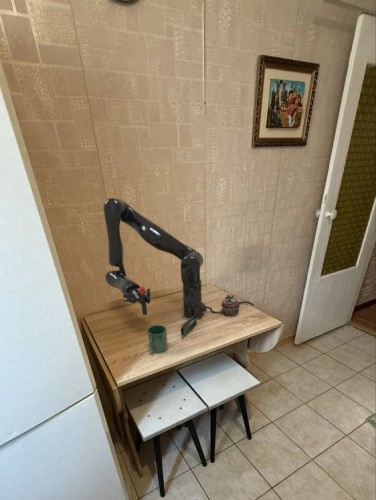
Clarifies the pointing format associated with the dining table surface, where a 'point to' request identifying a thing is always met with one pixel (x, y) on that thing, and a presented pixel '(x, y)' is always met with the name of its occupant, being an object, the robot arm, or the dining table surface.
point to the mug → (157, 338)
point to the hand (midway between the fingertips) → (146, 302)
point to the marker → (142, 294)
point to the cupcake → (230, 306)
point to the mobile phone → (188, 325)
